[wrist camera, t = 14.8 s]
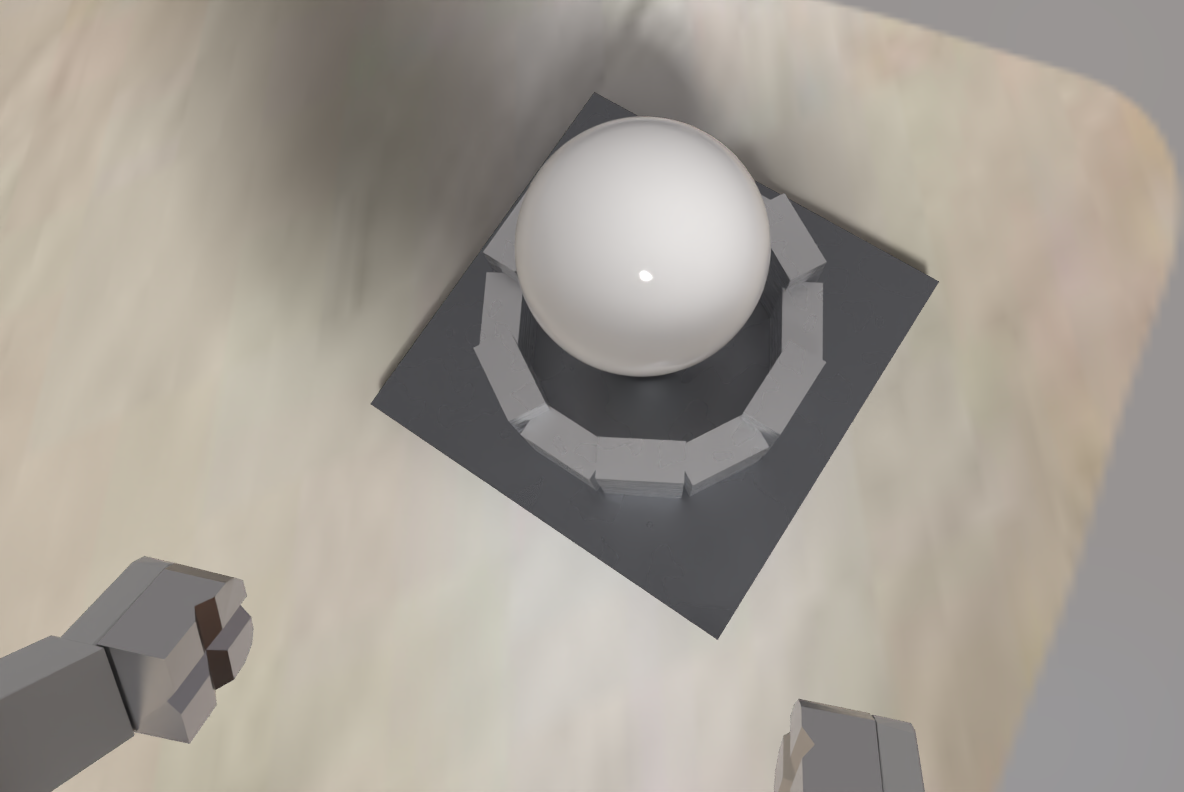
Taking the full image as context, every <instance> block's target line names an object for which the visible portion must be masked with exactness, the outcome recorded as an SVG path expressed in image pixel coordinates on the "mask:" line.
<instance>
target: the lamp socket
mask: <svg viewBox="0 0 1184 792" xmlns="http://www.w3.org/2000/svg"><path fill="white" fill-rule="evenodd" d="M636 116H637V115H635V114H633V113H631V112H630V111H628V110H626V109H624V108H622V107H621V106H619V105H617V104H615V103H613V102H611V101H610V100H608V99H606V98H604V97H602V96H601V95H599V94H597V93H595V92H594V94H593V95H592V96H591V98H590V99H589V101H588V102H587V103H586V105H585V106H584V108H583V109H582V110H581V112H580V113H579V115H578V116H577V117H576V119H575V120H574V122H573V123H572V124H571V126H570V127H569V128H568V130H567V131H566V133H565V134H564V135H563V137H562V138H561V140H560V141H559V142H558V144H557V145H556V147H555V148H554V149H553V151H552V152H551V154H550V155H549V156H548V158H547V159H546V160H545V162H546V161H547V160H548V159H549V158H550V157H551V156H552V155H553V154H554V153H555V152H556V151H557V150H558V149H559V148H560V147H561V146H563V145H564V144H565V143H566V142H568V141H569V140H570V139H572V138H573V137H575V136H577V135H578V134H580V133H582V132H583V131H585V130H587V129H589V128H592V127H594V126H596V125H599V124H602V123H605V122H608V121H611V120H616V119H620V118H626V117H636ZM545 162H544V163H543V165H544V164H545ZM543 165H542V166H543ZM542 166H541V167H542ZM541 167H540V169H541ZM540 169H539V170H540ZM539 170H538V171H539ZM537 173H538V172H537ZM537 173H536V174H537ZM536 174H535V176H536ZM535 176H534V177H535ZM534 177H533V179H534ZM533 179H532V180H531V181H530V183H529V184H528V186H527V187H526V188H525V190H524V191H523V192H522V194H521V195H520V197H519V198H518V199H517V201H516V202H515V204H514V205H513V206H512V208H511V209H510V211H509V212H508V213H507V215H506V216H505V218H504V219H503V220H502V222H501V223H500V224H499V226H498V227H497V229H496V230H495V231H494V233H493V234H492V236H491V237H490V238H489V240H488V241H487V243H486V244H485V245H484V247H483V248H482V250H481V251H480V252H479V254H478V255H477V256H476V258H475V259H474V261H473V262H472V263H471V265H470V266H469V268H468V269H467V270H466V272H465V273H464V275H463V276H462V277H461V279H460V280H459V282H458V283H457V284H456V286H455V287H454V289H453V290H452V291H451V293H450V294H449V295H448V297H447V298H446V300H445V301H444V302H443V304H442V305H441V307H440V308H439V309H438V311H437V312H436V314H435V315H434V316H433V318H432V319H431V321H430V322H429V323H428V325H427V326H426V327H425V329H424V330H423V332H422V333H421V334H420V336H419V337H418V339H417V340H416V341H415V343H414V344H413V346H412V347H411V348H410V350H409V351H408V353H407V354H406V355H405V357H404V358H403V359H402V361H401V362H400V364H399V365H398V366H397V368H396V369H395V371H394V372H393V373H392V375H391V376H390V378H389V379H388V380H387V382H386V383H385V385H384V386H383V387H382V389H381V390H380V391H379V393H378V394H377V396H376V397H375V398H374V400H373V401H372V403H371V405H373V406H374V407H376V408H377V409H379V410H380V411H382V412H383V413H385V414H386V415H388V416H389V417H391V418H392V419H393V420H395V421H396V422H398V423H399V424H401V425H402V426H404V427H405V428H407V429H408V430H410V431H411V432H413V433H414V434H416V435H417V436H419V437H420V438H421V439H423V440H424V441H426V442H427V443H429V444H430V445H432V446H433V447H435V448H436V449H438V450H439V451H441V452H442V453H444V454H445V455H446V456H448V457H449V458H451V459H452V460H454V461H455V462H457V463H458V464H460V465H461V466H463V467H464V468H466V469H467V470H469V471H470V472H471V473H473V474H474V475H476V476H477V477H479V478H480V479H482V480H483V481H485V482H486V483H488V484H489V485H491V486H492V487H494V488H495V489H497V490H498V491H499V492H501V493H502V494H504V495H505V496H507V497H508V498H510V499H511V500H513V501H514V502H516V503H517V504H519V505H520V506H522V507H523V508H524V509H526V510H527V511H529V512H530V513H532V514H533V515H535V516H536V517H538V518H539V519H541V520H542V521H544V522H545V523H547V524H548V525H550V526H551V527H552V528H554V529H555V530H557V531H558V532H560V533H561V534H563V535H564V536H566V537H567V538H569V539H570V540H572V541H573V542H575V543H576V544H577V545H579V546H580V547H582V548H583V549H585V550H586V551H588V552H589V553H591V554H592V555H594V556H595V557H597V558H598V559H600V560H601V561H602V562H604V563H605V564H607V565H608V566H610V567H611V568H613V569H614V570H616V571H617V572H619V573H620V574H622V575H623V576H625V577H626V578H628V579H629V580H630V581H632V582H633V583H635V584H636V585H638V586H639V587H641V588H642V589H644V590H645V591H647V592H648V593H650V594H651V595H653V596H654V597H655V598H657V599H658V600H660V601H661V602H663V603H664V604H666V605H667V606H669V607H670V608H672V609H673V610H675V611H676V612H678V613H679V614H680V615H682V616H683V617H685V618H686V619H688V620H689V621H691V622H692V623H694V624H695V625H697V626H698V627H700V628H701V629H703V630H704V631H706V632H707V633H708V634H710V635H711V636H713V637H714V638H716V639H717V640H718V638H719V637H720V635H721V633H722V632H723V630H724V628H725V627H726V625H727V624H728V622H729V620H730V619H731V617H732V615H733V614H734V612H735V611H736V609H737V607H738V606H739V604H740V603H741V601H742V599H743V598H744V596H745V594H746V593H747V591H748V590H749V588H750V586H751V585H752V583H753V582H754V580H755V578H756V577H757V575H758V573H759V572H760V570H761V569H762V567H763V565H764V564H765V562H766V561H767V559H768V557H769V556H770V554H771V552H772V551H773V549H774V548H775V546H776V544H777V543H778V541H779V539H780V538H781V536H782V535H783V533H784V531H785V530H786V528H787V527H788V525H789V523H790V522H791V520H792V518H793V517H794V515H795V514H796V512H797V510H798V509H799V507H800V506H801V504H802V502H803V501H804V499H805V497H806V496H807V494H808V493H809V491H810V489H811V488H812V486H813V485H814V483H815V481H816V480H817V478H818V476H819V475H820V473H821V472H822V470H823V468H824V467H825V465H826V463H827V462H828V460H829V459H830V457H831V455H832V454H833V452H834V451H835V449H836V447H837V446H838V444H839V442H840V441H841V439H842V438H843V436H844V434H845V433H846V431H847V430H848V428H849V426H850V425H851V423H852V421H853V420H854V418H855V417H856V415H857V413H858V412H859V410H860V409H861V407H862V405H863V404H864V402H865V400H866V399H867V397H868V396H869V394H870V392H871V391H872V389H873V388H874V386H875V384H876V383H877V381H878V379H879V378H880V376H881V375H882V373H883V371H884V370H885V368H886V366H887V365H888V363H889V362H890V360H891V358H892V357H893V355H894V354H895V352H896V350H897V349H898V347H899V345H900V344H901V342H902V341H903V339H904V337H905V336H906V334H907V333H908V331H909V329H910V328H911V326H912V324H913V323H914V321H915V320H916V318H917V316H918V315H919V313H920V312H921V310H922V308H923V307H924V305H925V303H926V302H927V300H928V299H929V297H930V295H931V294H932V292H933V290H934V289H935V287H936V286H937V284H938V282H939V281H937V280H935V279H933V278H931V277H930V276H928V275H926V274H924V273H922V272H921V271H919V270H917V269H915V268H913V267H911V266H910V265H908V264H906V263H904V262H902V261H901V260H899V259H897V258H895V257H893V256H891V255H890V254H888V253H886V252H884V251H882V250H881V249H879V248H877V247H875V246H873V245H871V244H870V243H868V242H866V241H864V240H862V239H861V238H859V237H857V236H855V235H853V234H851V233H850V232H848V231H846V230H844V229H842V228H841V227H839V226H837V225H835V224H833V223H831V222H830V221H828V220H826V219H824V218H822V217H821V216H819V215H817V214H815V213H813V212H811V211H810V210H808V209H806V208H804V207H802V206H801V205H799V204H797V203H795V202H793V201H791V200H790V199H788V198H787V196H786V195H785V193H783V194H779V193H777V192H775V191H773V190H771V189H770V188H768V187H766V186H764V185H762V184H761V183H759V182H757V181H755V180H754V181H755V183H756V185H757V187H758V189H759V191H760V194H761V196H762V199H763V201H764V204H765V208H766V211H767V215H768V219H769V225H770V233H771V257H770V265H769V271H768V276H767V280H766V283H765V287H764V290H763V292H762V295H761V297H760V299H759V302H758V304H757V306H756V308H755V309H754V311H753V313H752V315H751V316H750V318H749V319H748V321H747V322H746V324H745V325H744V326H743V327H742V329H741V330H740V331H739V332H738V333H737V334H736V336H735V337H734V338H733V339H732V340H731V341H730V342H729V343H727V344H726V345H725V346H724V347H723V348H722V349H720V350H719V351H718V352H716V353H715V354H713V355H712V356H710V357H709V358H707V359H706V360H704V361H702V362H700V363H698V364H696V365H694V366H691V367H689V368H687V369H684V370H681V371H678V372H674V373H670V374H666V375H660V376H650V377H632V376H623V375H617V374H613V373H609V372H605V371H602V370H599V369H596V368H594V367H591V366H589V365H587V364H585V363H583V362H581V361H579V360H578V359H576V358H574V357H573V356H571V355H570V354H568V353H567V352H566V351H564V350H563V349H562V348H561V347H559V346H558V345H557V344H556V343H555V342H554V341H553V340H552V339H551V338H550V337H549V336H548V335H547V334H546V333H545V332H544V330H543V329H542V328H541V326H540V325H539V324H538V322H537V321H536V319H535V318H534V316H533V315H532V313H531V311H530V309H529V307H528V305H527V303H526V301H525V299H524V296H523V294H522V291H521V288H520V284H519V281H518V277H517V272H516V265H515V255H514V241H515V231H516V224H517V219H518V215H519V211H520V208H521V205H522V202H523V199H524V197H525V194H526V192H527V190H528V188H529V186H530V184H531V182H532V181H533Z"/></svg>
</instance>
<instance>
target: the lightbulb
mask: <svg viewBox="0 0 1184 792" xmlns="http://www.w3.org/2000/svg"><path fill="white" fill-rule="evenodd" d="M514 255H515V265H516V272H517V277H518V281H519V284H520V288H521V291H522V294H523V296H524V299H525V301H526V303H527V305H528V307H529V309H530V311H531V313H532V315H533V316H534V318H535V319H536V321H537V322H538V324H539V325H540V326H541V328H542V329H543V330H544V332H545V333H546V334H547V335H548V336H549V337H550V338H551V339H552V340H553V341H554V342H555V343H556V344H557V345H558V346H559V347H561V348H562V349H563V350H564V351H566V352H567V353H568V354H570V355H571V356H573V357H574V358H576V359H578V360H579V361H581V362H583V363H585V364H587V365H589V366H591V367H594V368H596V369H599V370H602V371H605V372H609V373H613V374H617V375H623V376H632V377H650V376H660V375H666V374H670V373H674V372H678V371H681V370H684V369H687V368H689V367H691V366H694V365H696V364H698V363H700V362H702V361H704V360H706V359H707V358H709V357H710V356H712V355H713V354H715V353H716V352H718V351H719V350H720V349H722V348H723V347H724V346H725V345H726V344H727V343H729V342H730V341H731V340H732V339H733V338H734V337H735V336H736V334H737V333H738V332H739V331H740V330H741V329H742V327H743V326H744V325H745V324H746V322H747V321H748V319H749V318H750V316H751V315H752V313H753V311H754V309H755V308H756V306H757V304H758V302H759V299H760V297H761V295H762V292H763V290H764V287H765V283H766V280H767V276H768V271H769V265H770V257H771V233H770V225H769V219H768V215H767V211H766V208H765V204H764V201H763V199H762V196H761V194H760V191H759V189H758V187H757V185H756V183H755V181H754V180H753V178H752V176H751V175H750V173H749V172H748V170H747V169H746V167H745V166H744V165H743V163H742V162H741V161H740V160H739V159H738V158H737V156H736V155H735V154H734V153H733V152H732V151H731V150H729V149H728V148H727V147H726V146H725V145H724V144H722V143H721V142H720V141H718V140H717V139H716V138H714V137H713V136H711V135H709V134H708V133H706V132H704V131H702V130H700V129H698V128H696V127H694V126H692V125H689V124H686V123H683V122H680V121H677V120H673V119H668V118H662V117H652V116H636V117H626V118H620V119H616V120H611V121H608V122H605V123H602V124H599V125H596V126H594V127H592V128H589V129H587V130H585V131H583V132H582V133H580V134H578V135H577V136H575V137H573V138H572V139H570V140H569V141H568V142H566V143H565V144H564V145H563V146H561V147H560V148H559V149H558V150H557V151H556V152H555V153H554V154H553V155H552V156H551V157H550V158H549V159H548V160H547V161H546V162H545V164H544V165H543V166H542V167H541V169H540V170H539V171H538V173H537V174H536V176H535V177H534V179H533V181H532V182H531V184H530V186H529V188H528V190H527V192H526V194H525V197H524V199H523V202H522V205H521V208H520V211H519V215H518V219H517V224H516V231H515V241H514Z"/></svg>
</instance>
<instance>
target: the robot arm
mask: <svg viewBox="0 0 1184 792" xmlns="http://www.w3.org/2000/svg"><path fill="white" fill-rule="evenodd" d="M246 597H247V594H246V590H245V586H244V582H243V580H241V579H237V578H234V577H230V576H226V575H222V574H217V573H213V572H209V571H205V570H201V569H197V568H193V567H189V566H185V565H181V564H177V563H172V562H168V561H164V560H159V559H155V558H151V557H146V556H144V557H142V558H140V559H138V560H136V561H134V562H132V563H131V564H130V565H129V566H128V567H127V568H126V569H125V570H124V571H123V573H122V574H121V575H120V576H119V577H118V578H117V579H116V580H115V581H114V582H113V583H112V584H111V585H110V586H109V587H108V588H107V589H106V590H105V591H104V592H103V593H102V594H101V595H100V597H99V598H98V599H97V600H96V601H95V602H94V603H93V604H92V605H91V606H90V607H89V608H88V609H87V610H86V611H85V612H84V613H83V614H82V615H81V616H80V617H79V618H78V620H77V621H76V622H75V623H74V624H73V625H72V626H71V627H70V628H69V629H68V630H67V631H66V632H65V633H64V634H63V635H62V636H61V637H57V636H52V635H51V636H49V637H47V638H44V639H42V640H40V641H38V642H36V643H33V644H31V645H29V646H27V647H24V648H22V649H20V650H18V651H16V652H13V653H11V654H9V655H7V656H5V657H2V658H0V792H51V791H53V790H54V789H56V788H57V787H59V786H60V785H62V784H63V783H64V782H66V781H67V780H69V779H70V778H72V777H73V776H75V775H76V774H78V773H79V772H81V771H82V770H84V769H85V768H87V767H88V766H90V765H91V764H93V763H94V762H96V761H97V760H99V759H100V758H102V757H103V756H105V755H106V754H108V753H109V752H111V751H112V750H114V749H115V748H117V747H118V746H120V745H121V744H123V743H124V742H126V741H127V740H128V739H130V738H131V737H133V736H134V732H137V733H141V734H146V735H151V736H156V737H160V738H165V739H170V740H174V741H179V742H184V743H188V744H190V743H191V741H192V740H193V738H194V737H195V735H196V734H197V733H198V731H199V730H200V728H201V727H202V725H203V724H204V722H205V721H206V720H207V718H208V717H209V715H210V714H211V712H212V711H213V709H214V708H215V707H216V705H217V702H216V689H218V688H220V687H222V686H223V685H225V684H227V683H229V682H231V681H232V680H234V679H235V677H236V676H237V674H238V673H239V671H240V670H241V668H242V667H243V665H244V664H245V661H246V659H247V656H248V653H249V651H250V648H251V645H252V640H253V624H252V618H251V616H250V615H249V614H248V613H247V612H246V611H245V610H244V608H243V607H242V606H241V603H242V602H243V601H244V599H245V598H246ZM774 792H925V790H924V783H923V777H922V770H921V764H920V758H919V751H918V745H917V738H916V732H915V729H914V728H913V726H912V724H911V723H909V722H904V721H900V720H895V719H890V718H886V717H881V716H876V715H871V714H870V713H866V712H861V711H856V710H851V709H846V708H842V707H837V706H832V705H827V704H822V703H817V702H812V701H807V700H802V699H798V700H797V701H796V702H795V704H794V707H793V709H792V712H791V715H790V732H789V733H788V734H786V735H784V736H783V739H782V742H781V746H780V749H779V753H778V758H777V764H776V769H775V781H774Z"/></svg>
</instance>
